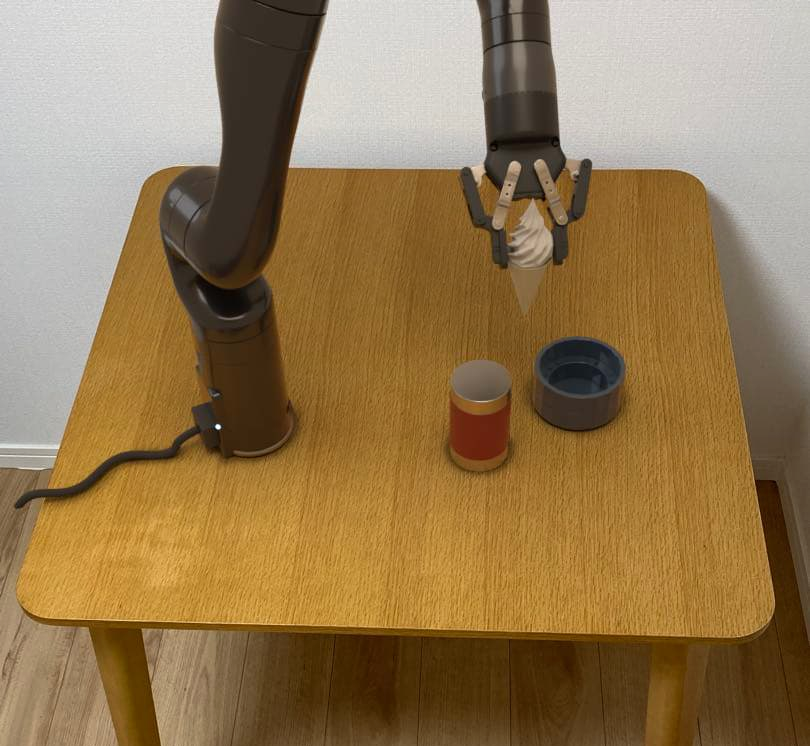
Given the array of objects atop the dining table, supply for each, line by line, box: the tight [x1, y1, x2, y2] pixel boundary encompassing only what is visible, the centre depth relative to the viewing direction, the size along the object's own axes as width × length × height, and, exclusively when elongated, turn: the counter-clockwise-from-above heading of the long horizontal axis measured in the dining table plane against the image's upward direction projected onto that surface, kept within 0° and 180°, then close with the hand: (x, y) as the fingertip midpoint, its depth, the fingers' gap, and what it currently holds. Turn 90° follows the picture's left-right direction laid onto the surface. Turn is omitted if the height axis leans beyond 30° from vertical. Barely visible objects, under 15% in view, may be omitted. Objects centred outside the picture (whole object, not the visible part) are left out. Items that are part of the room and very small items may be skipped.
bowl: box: [531, 335, 627, 431], centre depth 138 cm, size 10×10×6 cm
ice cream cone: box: [507, 198, 553, 316], centre depth 124 cm, size 5×5×15 cm
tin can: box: [449, 359, 513, 473], centre depth 131 cm, size 7×7×11 cm
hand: (531, 265), depth 123 cm, fingers closed on ice cream cone, 5 cm apart
